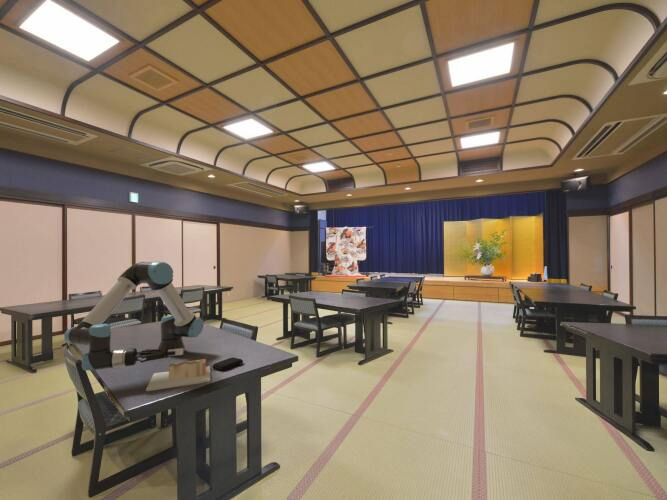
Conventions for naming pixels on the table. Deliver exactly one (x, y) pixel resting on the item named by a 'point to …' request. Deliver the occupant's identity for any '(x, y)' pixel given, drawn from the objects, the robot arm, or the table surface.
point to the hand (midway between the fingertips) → (183, 351)
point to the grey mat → (175, 380)
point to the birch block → (187, 369)
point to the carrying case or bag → (227, 364)
